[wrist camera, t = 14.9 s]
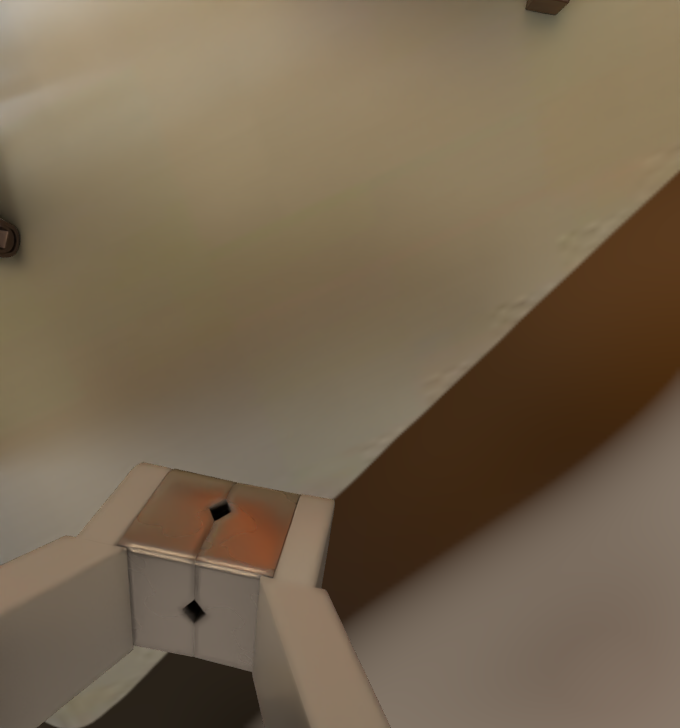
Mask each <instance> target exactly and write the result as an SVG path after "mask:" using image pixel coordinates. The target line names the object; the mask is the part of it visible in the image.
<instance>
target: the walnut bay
mask: <svg viewBox="0 0 680 728" xmlns="http://www.w3.org/2000/svg"><path fill="white" fill-rule="evenodd" d="M569 1H570V0H528V1H527V5H526V9H527V10H532V11H537V12H542V13H548V14H553V15H556V14H557V13H558V12H559V11H560V10H561V9H562V8H564V7H565V6H566V5H567V4H568V3H569Z"/></svg>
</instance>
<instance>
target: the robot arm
mask: <svg viewBox="0 0 680 728" xmlns="http://www.w3.org/2000/svg"><path fill="white" fill-rule="evenodd" d="M334 506H335V502H334V500H333V499H327V498H321V497H316V496H310V495H304V494H302V495H300V494H295V493H290V492H285V491H279V490H274V489H269V488H264V487H258V486H253V485H248V484H242V483H237V482H233V481H228V480H224V479H219V478H215V477H210V476H206V475H201V474H197V473H192V472H188V471H183V470H179V469H171V468H167V467H162V466H158V465H153V464H149V463H144V462H142V463H140V464H138V465H136V466H135V467H133V469H132V470H131V471H130V472H129V473H128V475H127V476H126V477H125V478H124V480H123V481H122V482H121V483H120V484H119V486H118V487H117V488H116V489H115V491H114V492H113V493H112V494H111V495H110V497H109V498H108V499H107V500H106V502H105V503H104V504H103V505H102V506H101V508H100V509H99V510H98V511H97V512H96V514H95V515H94V516H93V517H92V519H91V520H90V521H89V522H88V523H87V525H86V526H85V527H84V528H83V530H82V531H81V532H80V533H79V534H78V536H77V537H72V536H66V535H65V536H63V537H61V538H59V539H57V540H55V541H52V542H50V543H48V544H46V545H44V546H42V547H39V548H37V549H35V550H33V551H31V552H29V553H26V554H24V555H22V556H20V557H18V558H16V559H13V560H11V561H9V562H7V563H5V564H3V565H0V728H37V727H38V726H39V725H40V724H41V723H43V722H44V721H45V720H47V719H48V718H49V717H50V716H51V715H53V714H54V713H55V712H56V711H58V710H59V709H60V708H61V707H63V706H64V705H65V704H66V703H68V702H69V701H70V700H71V699H73V698H74V697H75V696H76V695H78V694H79V693H80V692H81V691H82V690H84V689H85V688H86V687H87V686H89V685H90V684H91V683H92V682H94V681H95V680H96V679H97V678H99V677H100V676H101V675H102V674H104V673H105V672H106V671H107V670H109V669H110V668H111V667H112V666H113V665H115V664H116V663H117V662H118V661H120V660H121V659H122V658H123V657H125V656H126V655H127V654H128V653H130V652H131V651H132V650H133V645H134V646H140V647H145V648H150V649H155V650H161V651H166V652H171V653H176V654H181V655H187V656H192V657H196V658H201V659H204V660H208V661H212V662H216V663H220V664H224V665H228V666H232V667H236V668H240V669H243V670H247V671H251V672H253V675H252V676H253V680H254V684H255V688H256V693H257V697H258V701H259V706H260V710H261V714H262V719H263V723H264V728H391V727H390V725H389V723H388V720H387V718H386V716H385V714H384V712H383V710H382V708H381V705H380V704H379V701H378V699H377V697H376V695H375V693H374V691H373V689H372V686H371V684H370V682H369V680H368V678H367V676H366V674H365V672H364V669H363V667H362V665H361V663H360V661H359V659H358V657H357V654H356V652H355V650H354V648H353V646H352V644H351V642H350V640H349V637H348V635H347V633H346V631H345V629H344V627H343V625H342V623H341V621H340V618H339V616H338V614H337V612H336V610H335V608H334V606H333V603H332V601H331V599H330V597H329V595H328V593H327V591H326V590H324V589H321V585H322V580H323V574H324V568H325V562H326V557H327V550H328V544H329V538H330V532H331V525H332V520H333V513H334Z"/></svg>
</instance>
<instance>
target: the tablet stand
mask: <svg viewBox="0 0 680 728" xmlns="http://www.w3.org/2000/svg"><path fill="white" fill-rule="evenodd" d="M19 243H20V238H19V234H18V231H17V229H16V228H15V226H13V225H12V224H10V223H8V222H6V221H4V220H2V219H0V258H8V257H12V256H13V255H15V254H16V252H17V250H18V248H19Z"/></svg>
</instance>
